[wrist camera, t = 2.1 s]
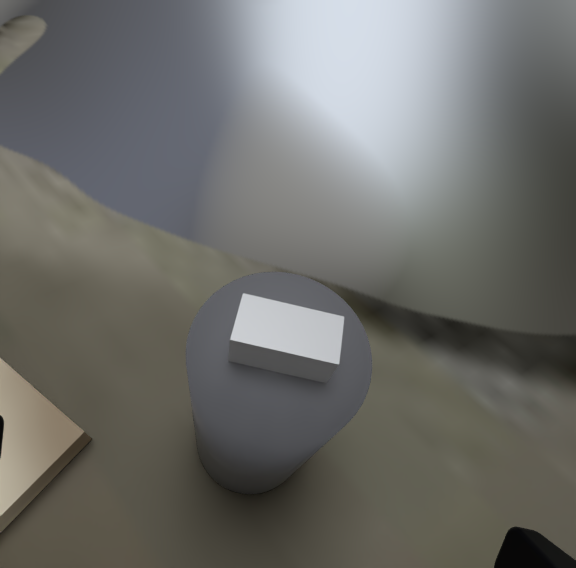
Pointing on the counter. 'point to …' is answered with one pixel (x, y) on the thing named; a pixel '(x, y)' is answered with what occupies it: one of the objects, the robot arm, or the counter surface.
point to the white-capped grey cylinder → (272, 377)
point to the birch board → (31, 443)
